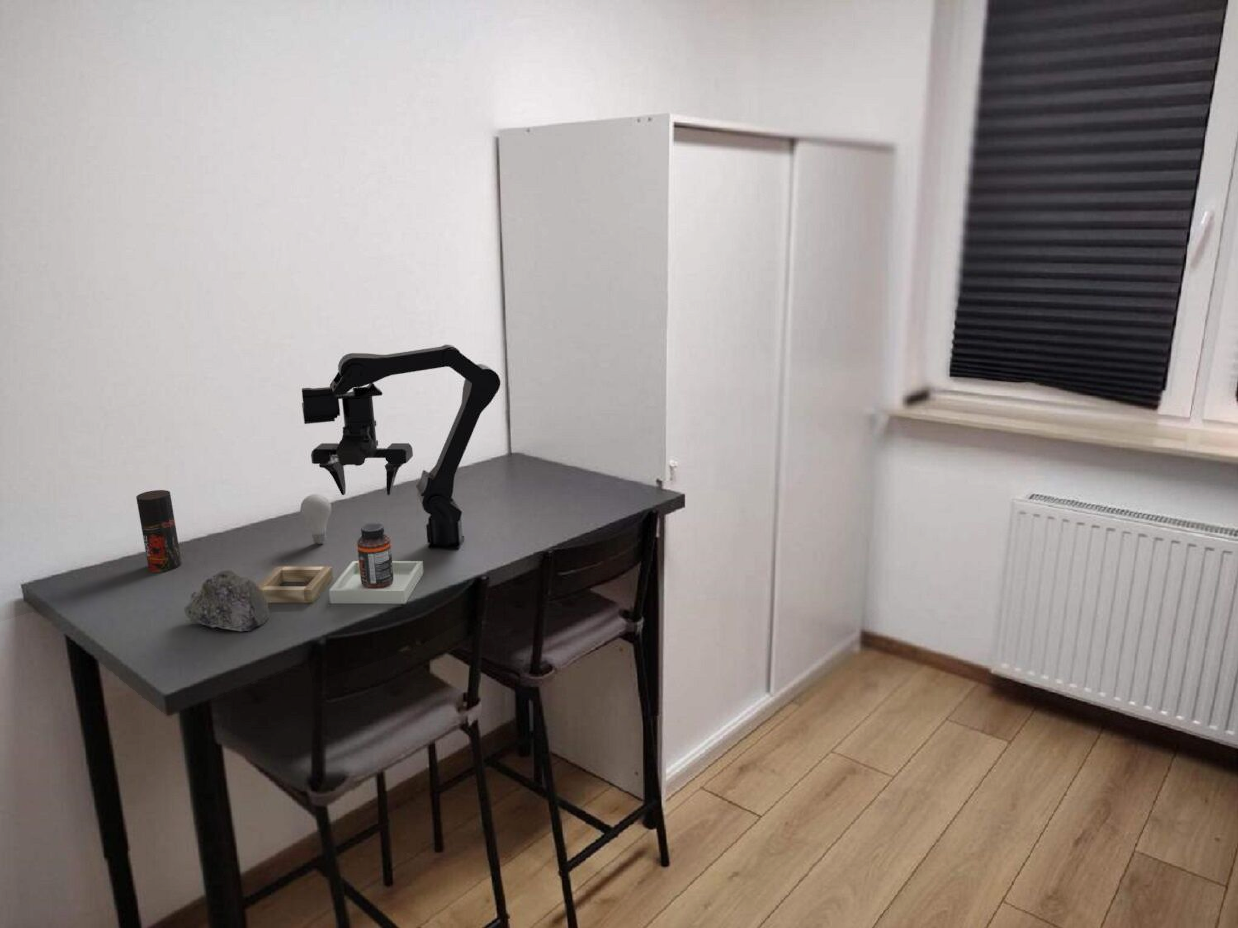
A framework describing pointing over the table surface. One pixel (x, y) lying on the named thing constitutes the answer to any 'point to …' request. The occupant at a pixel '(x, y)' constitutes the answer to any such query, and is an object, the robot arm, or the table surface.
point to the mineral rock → (228, 603)
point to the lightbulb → (316, 515)
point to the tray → (395, 593)
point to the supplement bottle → (375, 557)
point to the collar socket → (295, 594)
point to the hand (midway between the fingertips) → (366, 494)
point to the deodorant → (159, 530)
